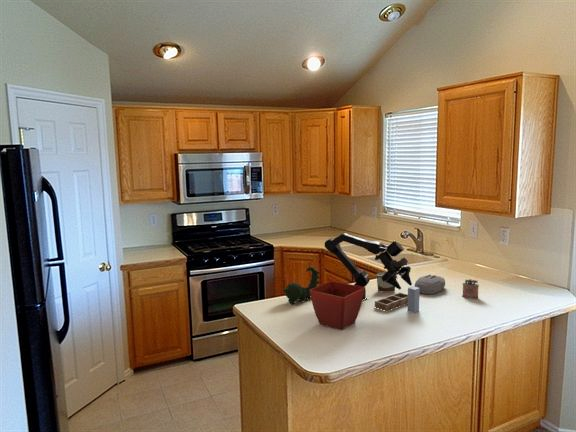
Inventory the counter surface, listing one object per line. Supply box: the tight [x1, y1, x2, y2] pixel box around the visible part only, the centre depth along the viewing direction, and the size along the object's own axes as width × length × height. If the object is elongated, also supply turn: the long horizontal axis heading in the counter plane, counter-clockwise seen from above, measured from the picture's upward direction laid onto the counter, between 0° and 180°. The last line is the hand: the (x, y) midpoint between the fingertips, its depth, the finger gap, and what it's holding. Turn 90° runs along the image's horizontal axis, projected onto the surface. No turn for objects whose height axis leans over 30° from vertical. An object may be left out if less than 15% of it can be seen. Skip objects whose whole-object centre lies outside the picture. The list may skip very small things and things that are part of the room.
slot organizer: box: [374, 292, 408, 312], centre depth 219 cm, size 21×8×4 cm, turn 130°
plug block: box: [407, 285, 420, 314], centre depth 209 cm, size 4×4×12 cm
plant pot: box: [310, 280, 366, 330], centre depth 196 cm, size 19×19×17 cm
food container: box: [375, 271, 398, 291], centre depth 243 cm, size 12×6×10 cm, turn 84°
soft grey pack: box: [414, 274, 446, 295], centre depth 242 cm, size 15×8×20 cm
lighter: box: [461, 278, 480, 300], centre depth 228 cm, size 8×3×10 cm, turn 62°
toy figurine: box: [282, 266, 320, 304], centre depth 228 cm, size 9×19×25 cm
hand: (406, 287), depth 212 cm, fingers open, 9 cm apart
